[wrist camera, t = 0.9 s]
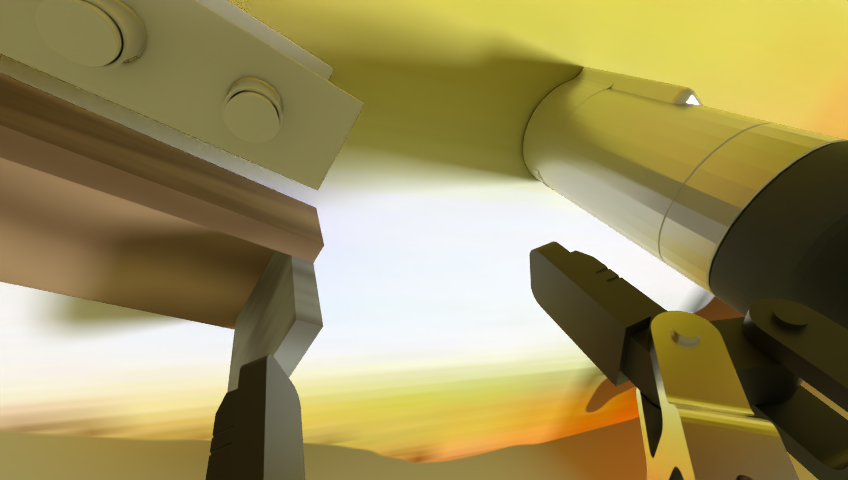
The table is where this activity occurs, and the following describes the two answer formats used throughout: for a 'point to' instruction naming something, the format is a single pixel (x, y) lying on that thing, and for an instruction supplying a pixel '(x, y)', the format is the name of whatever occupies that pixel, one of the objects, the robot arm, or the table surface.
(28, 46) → the long lego plate
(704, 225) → the robot arm
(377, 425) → the table surface
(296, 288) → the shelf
